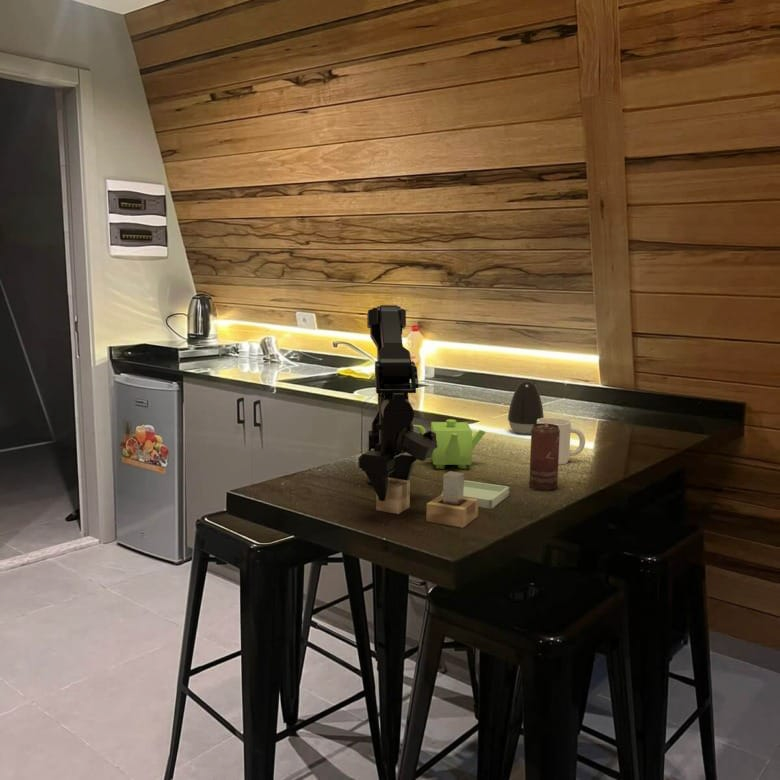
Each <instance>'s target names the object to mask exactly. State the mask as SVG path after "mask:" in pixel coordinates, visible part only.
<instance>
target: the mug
mask: <svg viewBox="0 0 780 780" xmlns="http://www.w3.org/2000/svg"><path fill="white" fill-rule="evenodd" d="M571 422H572V421H570V419H565V418H561V417H544V418H540V419H538V420H537V424H541V423H547V424H554V425H557V426H558V428H559V430H560V438H559V460H558V466H561V465H566V464H567V463H568V462H569V459H570V457H573V456H577V455H579V454H581V452H582V451H583V450H584V448H585V445H586V436H585V434H584V433H583V431H582V430H581V429H580V428H579V427H576V426H572V423H571ZM571 433H572V434H576V435H577V437H578V439H579V445H578V447H577V448H576V449H573V450H572V449H571V446H570V444H571Z"/></svg>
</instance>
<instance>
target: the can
mask: <svg viewBox="0 0 780 780" xmlns="http://www.w3.org/2000/svg"><path fill="white" fill-rule="evenodd" d="M559 438H560V430H559V428H558V426H557V425H554V424H547V423H541V424H534V425H533V428H532V429H531V434H530V457H529V458H530V460H529V486H530V488H532V489H533V490H536V491H543V492H545V491H547V492H549V491H554V490H556V489H557V487H558V480H559V479H558V477H559V476H558V475H559V465H558V460H559Z"/></svg>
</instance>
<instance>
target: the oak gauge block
mask: <svg viewBox="0 0 780 780" xmlns="http://www.w3.org/2000/svg"><path fill="white" fill-rule="evenodd" d="M425 515H426V518H425V519H426V522H428V523H435V524H440V525H444V526H445V525H446V526H452V527H457V528H462V529H463V528H465V527H466V526H467V525H468V524H470V523H472V522H473V521H474V520H475V519H477V518H478V517H479V507H478V499H474V498H467V497H463V504H462V505H461V506H453V505H447V504H443V494H442V493H441V494H440V495H438V496H437V497H434V498H433V499H432V500H430V501H429V502H427V503H426V514H425Z"/></svg>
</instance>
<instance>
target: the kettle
mask: <svg viewBox="0 0 780 780" xmlns="http://www.w3.org/2000/svg"><path fill="white" fill-rule="evenodd" d="M412 425H413V428H414V427H415V428H416V429H417V430H418V432H419V433H422V435H423V434H424V433H426V432H427V430H426V429H425V427H424V426H423V425H420V424H412ZM430 431H432V432H434V433H436V441H437V448H436V449H434V451H433V453H432V456H431V461H432V464H433V466H435V467H434V468H435V469H438V470H443V469H445V468H446V466H449V465H450V466H457V468H458V469H461V470H465V469H468V466H471V465H472V458H473V457H472V453H473V450H474V448H475V447H476V446H477V444H478V443H479V442H480V441H481V439H482V438H483V437H484V436H485V434H486V431H484V430H481V429H479V430H478V431H477V432H476V433H474V435H473V431H472V429H471V427H470V425H469V423H468V422H467V421H457V420H456V419H450V418H449V419H446V420H445V421H431V423H430Z"/></svg>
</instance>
